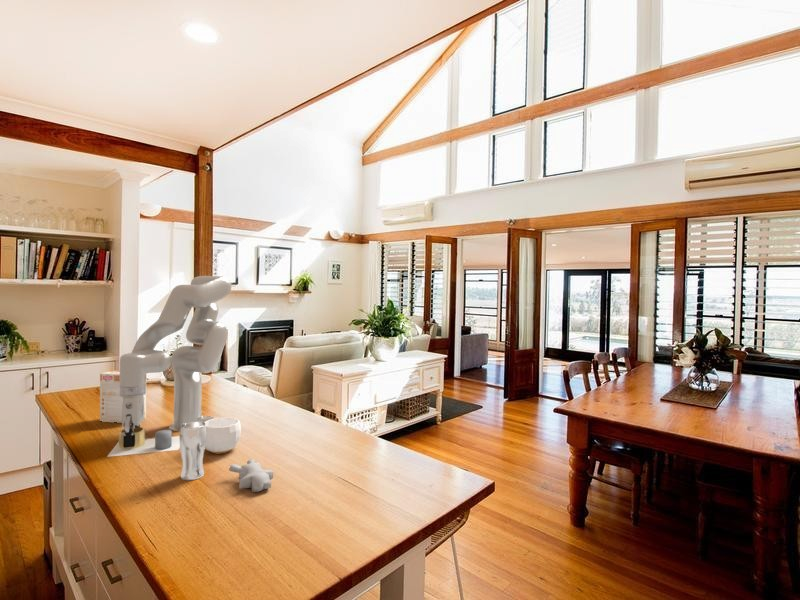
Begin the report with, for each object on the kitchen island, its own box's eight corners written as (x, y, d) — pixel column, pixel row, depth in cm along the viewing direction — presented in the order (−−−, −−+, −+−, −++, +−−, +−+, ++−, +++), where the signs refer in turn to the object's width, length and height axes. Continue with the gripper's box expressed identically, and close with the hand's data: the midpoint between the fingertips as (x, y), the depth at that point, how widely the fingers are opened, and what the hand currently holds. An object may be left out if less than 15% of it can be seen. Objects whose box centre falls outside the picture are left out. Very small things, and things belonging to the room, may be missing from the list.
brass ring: (146, 440, 148) (146, 425, 148) (142, 447, 141) (142, 432, 141) (122, 442, 145) (122, 427, 145) (116, 449, 139) (116, 434, 139)
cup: (192, 454, 139) (192, 425, 139) (220, 442, 151) (220, 414, 151) (222, 460, 135) (222, 430, 135) (248, 447, 147) (248, 419, 146)
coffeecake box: (146, 418, 174) (147, 371, 174) (134, 424, 167) (134, 374, 167) (112, 416, 176) (113, 369, 176) (98, 422, 169) (99, 373, 168)
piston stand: (183, 438, 153) (183, 421, 153) (178, 452, 140) (178, 434, 140) (118, 444, 146) (118, 426, 146) (106, 459, 133) (107, 440, 133)
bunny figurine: (247, 483, 111) (225, 459, 122) (246, 502, 112) (224, 476, 123) (281, 473, 118) (257, 451, 129) (279, 491, 118) (256, 467, 129)
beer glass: (179, 472, 126) (180, 422, 125) (205, 469, 128) (206, 419, 128) (177, 482, 119) (178, 429, 119) (205, 479, 122) (206, 427, 122)
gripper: (140, 396, 136) (139, 451, 137) (150, 384, 152) (149, 433, 153) (112, 397, 133) (111, 453, 134) (126, 385, 150) (125, 435, 150)
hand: (132, 442), depth 143 cm, fingers closed on brass ring, 7 cm apart
